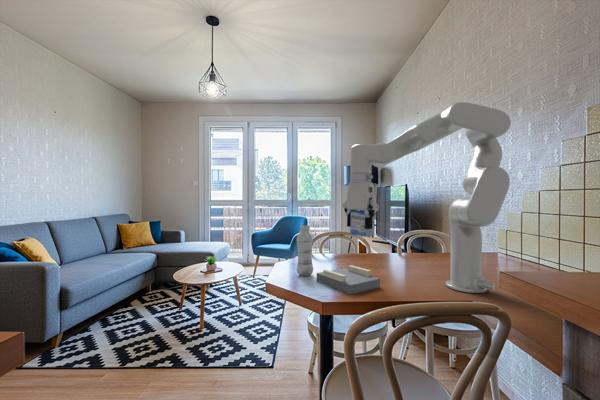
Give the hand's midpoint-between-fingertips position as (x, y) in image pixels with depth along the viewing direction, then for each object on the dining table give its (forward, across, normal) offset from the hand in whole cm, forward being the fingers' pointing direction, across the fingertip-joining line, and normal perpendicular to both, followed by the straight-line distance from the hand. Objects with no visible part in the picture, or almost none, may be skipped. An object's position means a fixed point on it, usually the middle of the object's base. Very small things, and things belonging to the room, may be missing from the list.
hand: (359, 227), depth 103 cm
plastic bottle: (+21, +21, +9) cm, 31 cm away
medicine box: (+3, 0, -2) cm, 3 cm away
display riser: (+21, +3, +3) cm, 21 cm away
